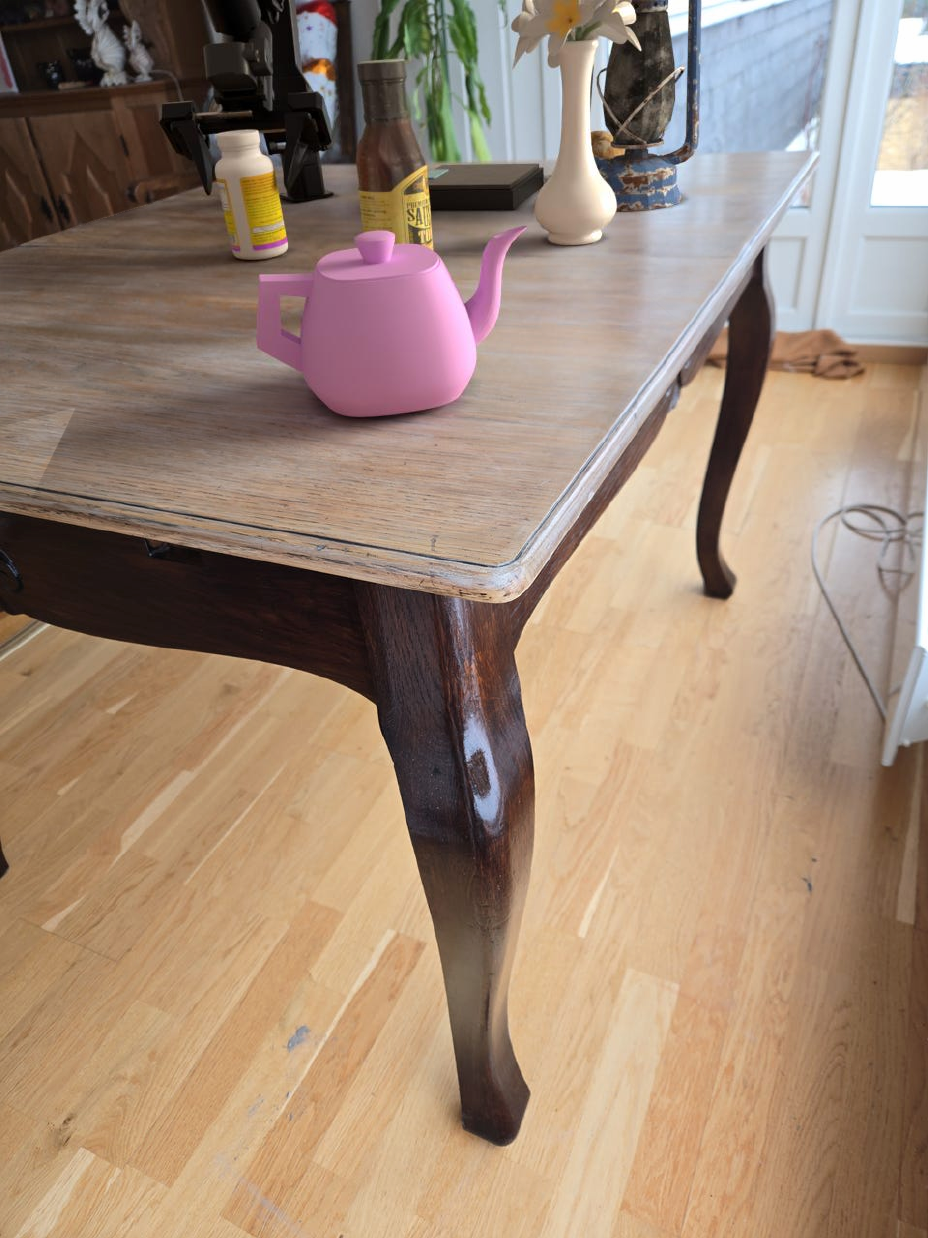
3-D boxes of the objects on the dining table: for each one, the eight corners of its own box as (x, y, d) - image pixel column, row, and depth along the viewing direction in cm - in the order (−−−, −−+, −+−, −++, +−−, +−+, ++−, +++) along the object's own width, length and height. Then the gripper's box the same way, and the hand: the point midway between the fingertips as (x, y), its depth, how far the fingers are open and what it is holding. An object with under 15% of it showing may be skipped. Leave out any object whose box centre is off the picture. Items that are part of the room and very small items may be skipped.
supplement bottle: (299, 247, 104) (278, 126, 97) (272, 262, 100) (248, 135, 92) (251, 246, 106) (227, 128, 99) (222, 260, 102) (195, 137, 94)
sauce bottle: (429, 318, 79) (406, 61, 67) (364, 318, 80) (330, 65, 68) (444, 296, 84) (426, 54, 72) (383, 297, 85) (355, 59, 74)
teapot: (551, 404, 61) (550, 238, 55) (268, 441, 59) (232, 273, 53) (510, 344, 72) (505, 198, 65) (269, 374, 70) (239, 227, 63)
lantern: (685, 187, 118) (708, -97, 100) (701, 206, 108) (729, -105, 90) (572, 194, 119) (574, -85, 101) (578, 214, 109) (581, -92, 91)
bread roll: (620, 210, 125) (647, 152, 121) (556, 181, 123) (581, 121, 118) (611, 196, 133) (636, 142, 129) (551, 169, 131) (574, 112, 126)
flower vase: (605, 216, 107) (613, -36, 92) (647, 251, 92) (664, -41, 78) (502, 225, 107) (493, -26, 92) (528, 263, 92) (522, -30, 77)
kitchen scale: (401, 209, 118) (399, 184, 116) (441, 186, 130) (439, 163, 128) (513, 209, 114) (512, 183, 112) (543, 185, 126) (543, 161, 124)
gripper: (139, 16, 93) (136, 146, 91) (310, 2, 92) (311, 134, 90) (178, 94, 104) (177, 212, 102) (331, 82, 103) (333, 201, 101)
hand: (246, 190), depth 98 cm, fingers open, 9 cm apart
